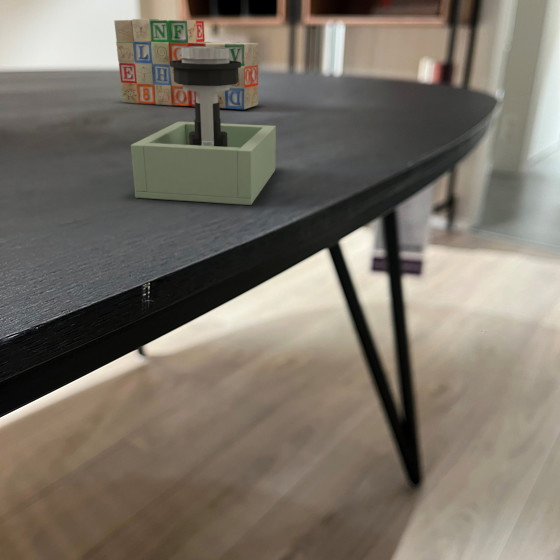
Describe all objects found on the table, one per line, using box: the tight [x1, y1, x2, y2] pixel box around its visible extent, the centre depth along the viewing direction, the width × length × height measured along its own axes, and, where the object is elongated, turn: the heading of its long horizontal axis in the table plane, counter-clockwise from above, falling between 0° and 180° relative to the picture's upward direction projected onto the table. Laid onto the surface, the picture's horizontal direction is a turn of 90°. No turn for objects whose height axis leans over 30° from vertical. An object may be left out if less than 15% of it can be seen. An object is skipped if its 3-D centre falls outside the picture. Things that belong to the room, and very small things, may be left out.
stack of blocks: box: [113, 18, 259, 110], centre depth 89 cm, size 21×6×12 cm, turn 71°
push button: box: [170, 47, 241, 147], centre depth 45 cm, size 7×5×10 cm
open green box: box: [130, 121, 277, 206], centre depth 47 cm, size 9×11×4 cm
